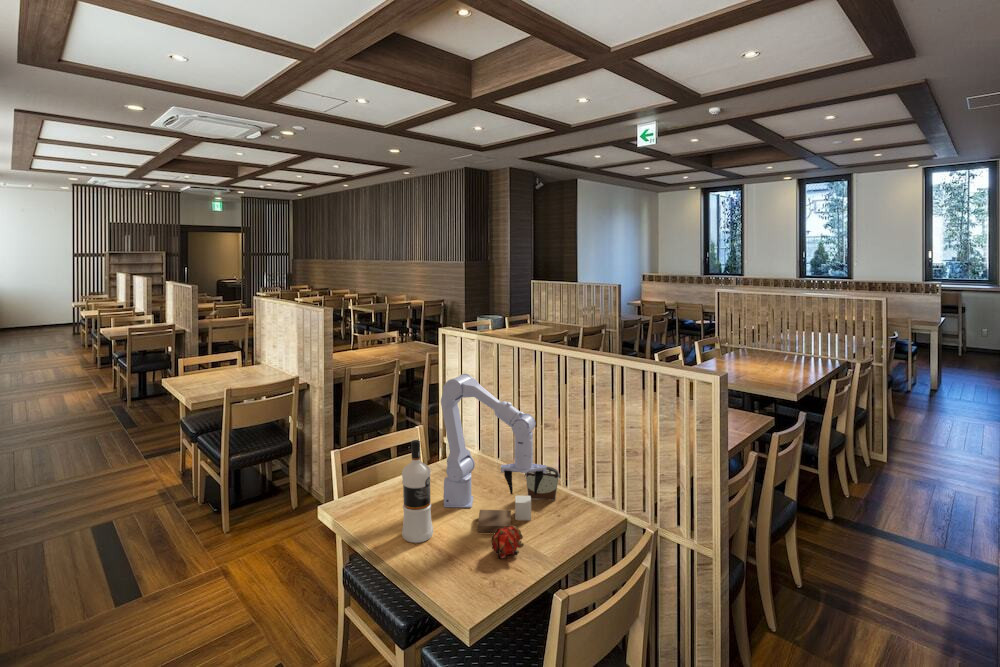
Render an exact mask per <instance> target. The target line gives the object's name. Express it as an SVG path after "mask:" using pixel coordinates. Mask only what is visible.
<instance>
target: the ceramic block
mask: <svg viewBox="0 0 1000 667" xmlns="http://www.w3.org/2000/svg"><path fill="white" fill-rule="evenodd" d="M514 497H515V501H514V504H515V505H514V506H515V507H514V508H515V510H514V514H515V515H514V517H515V521H531V520H532V499H531V496H528V495H515V496H514Z"/></svg>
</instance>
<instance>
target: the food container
mask: <svg viewBox="0 0 1000 667" xmlns="http://www.w3.org/2000/svg"><path fill="white" fill-rule="evenodd" d="M546 467H547V469H546V473H543V478H542V480H541V482H540V484H539V486H538V489H537V495H534V485H535V472H527V473H524V478H525V479H526V489H527V496H531V500H538V499H552V500H551V501H556V497H557V490H558V485H559V484H558V483H559V479H561V476H560V473H559V471H558V469H556V468H554V467H552V466H548V465H546Z"/></svg>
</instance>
